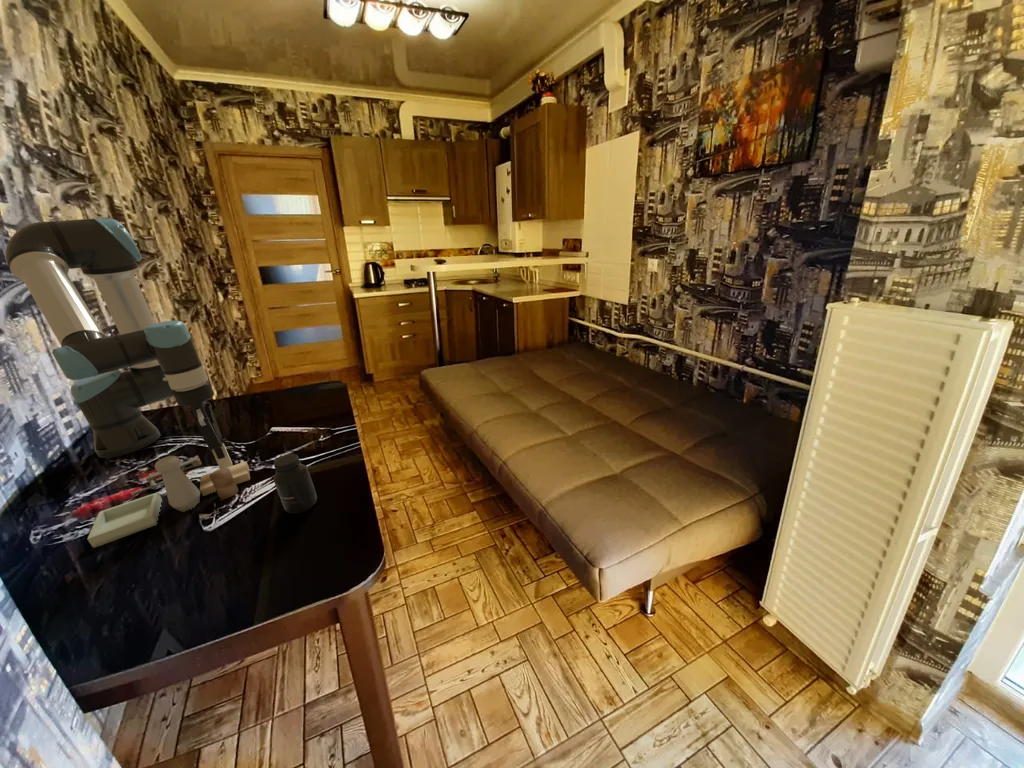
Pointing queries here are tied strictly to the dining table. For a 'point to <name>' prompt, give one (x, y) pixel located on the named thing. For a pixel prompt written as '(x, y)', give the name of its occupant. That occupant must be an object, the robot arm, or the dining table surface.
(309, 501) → the supplement bottle
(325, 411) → the dining table surface
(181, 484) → the salt shaker
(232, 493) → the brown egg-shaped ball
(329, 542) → the dining table surface
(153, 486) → the clamp
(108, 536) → the tray
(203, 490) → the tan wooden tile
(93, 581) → the dining table surface
